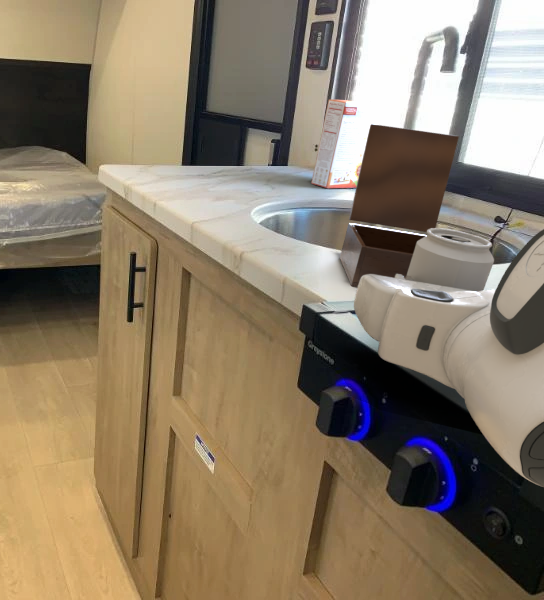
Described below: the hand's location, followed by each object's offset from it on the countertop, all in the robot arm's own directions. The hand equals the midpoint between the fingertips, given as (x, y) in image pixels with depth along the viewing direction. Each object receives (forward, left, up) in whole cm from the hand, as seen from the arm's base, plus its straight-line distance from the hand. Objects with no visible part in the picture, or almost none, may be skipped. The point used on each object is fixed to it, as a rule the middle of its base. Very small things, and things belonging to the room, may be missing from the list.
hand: (447, 289), depth 63 cm
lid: (0, -30, +7) cm, 30 cm away
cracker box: (-1, -97, -7) cm, 97 cm away
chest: (0, -22, -6) cm, 23 cm away
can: (0, -1, -7) cm, 7 cm away
